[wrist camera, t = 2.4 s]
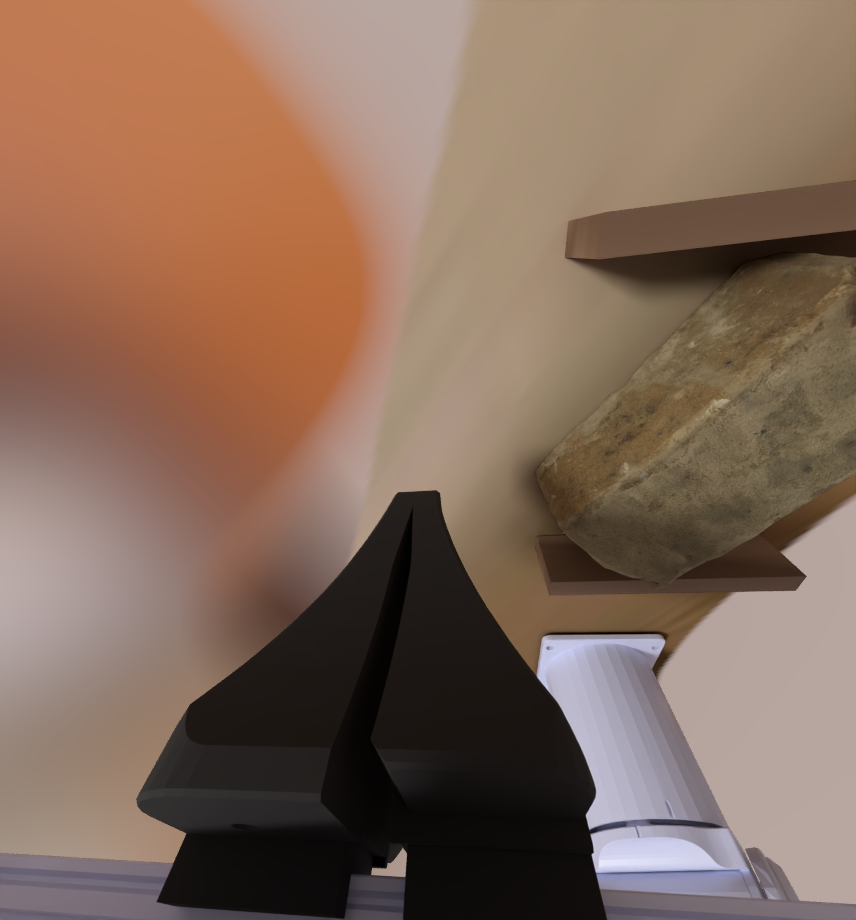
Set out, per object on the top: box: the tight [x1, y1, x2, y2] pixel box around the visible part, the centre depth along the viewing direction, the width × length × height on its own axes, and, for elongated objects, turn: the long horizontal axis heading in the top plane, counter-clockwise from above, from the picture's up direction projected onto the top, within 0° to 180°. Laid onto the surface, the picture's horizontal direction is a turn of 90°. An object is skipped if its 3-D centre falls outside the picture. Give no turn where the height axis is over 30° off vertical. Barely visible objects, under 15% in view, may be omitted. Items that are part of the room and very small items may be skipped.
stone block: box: [536, 252, 856, 589], centre depth 12 cm, size 6×12×5 cm, turn 148°
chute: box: [536, 180, 856, 595], centre depth 13 cm, size 15×11×3 cm
